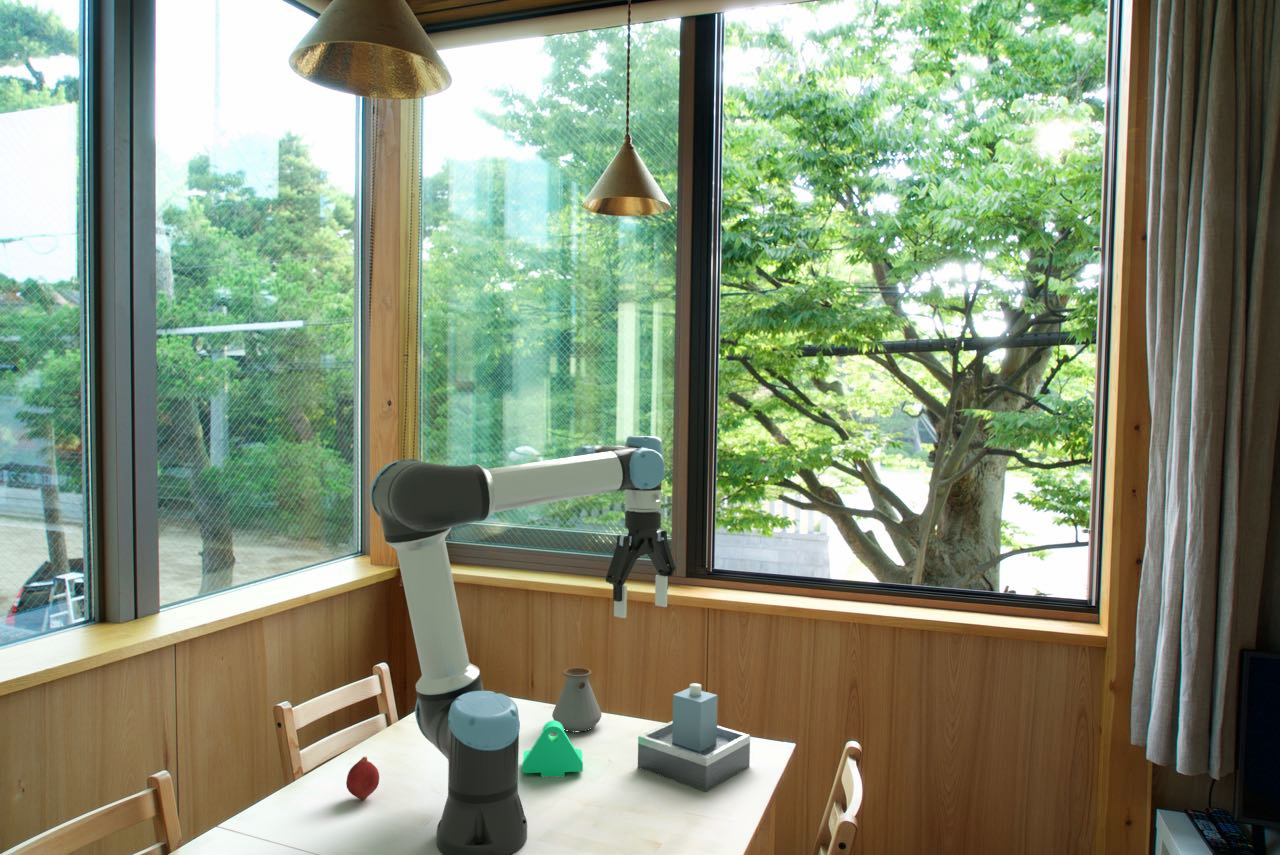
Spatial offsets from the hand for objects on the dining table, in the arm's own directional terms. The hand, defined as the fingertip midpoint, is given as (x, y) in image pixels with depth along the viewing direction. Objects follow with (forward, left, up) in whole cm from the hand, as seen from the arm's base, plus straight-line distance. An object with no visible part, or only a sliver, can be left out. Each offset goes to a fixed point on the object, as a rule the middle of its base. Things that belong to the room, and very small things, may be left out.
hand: (641, 611), depth 173 cm
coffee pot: (+3, +20, -32) cm, 38 cm away
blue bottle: (+6, -10, -27) cm, 29 cm away
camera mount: (-14, +11, -32) cm, 37 cm away
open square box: (+6, -10, -32) cm, 34 cm away
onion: (-47, +28, -32) cm, 63 cm away
